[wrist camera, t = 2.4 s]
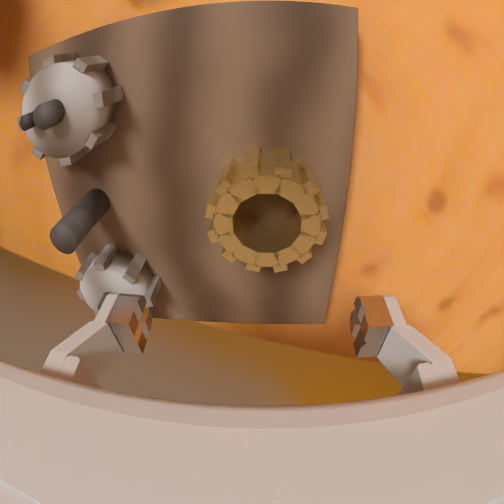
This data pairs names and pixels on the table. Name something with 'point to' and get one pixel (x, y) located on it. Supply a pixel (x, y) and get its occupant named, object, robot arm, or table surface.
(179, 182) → the gear board
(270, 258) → the brass gear
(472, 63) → the table surface
